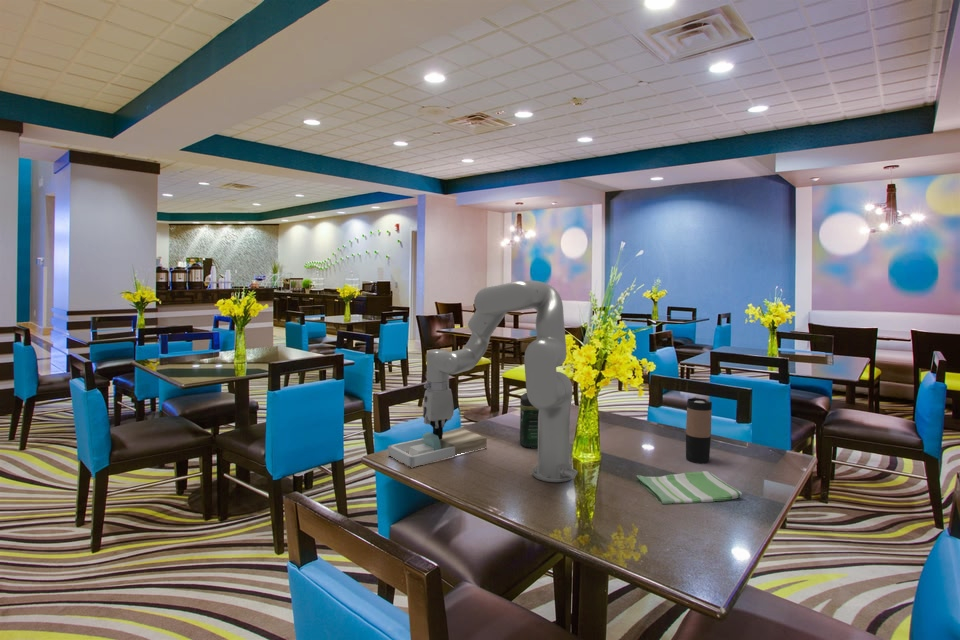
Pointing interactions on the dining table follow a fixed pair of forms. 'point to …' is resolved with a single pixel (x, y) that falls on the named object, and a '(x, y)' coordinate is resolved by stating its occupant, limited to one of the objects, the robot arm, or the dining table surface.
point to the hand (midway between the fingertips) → (437, 438)
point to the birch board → (463, 441)
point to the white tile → (420, 449)
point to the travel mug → (698, 430)
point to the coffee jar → (528, 423)
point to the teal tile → (432, 440)
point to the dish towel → (689, 488)
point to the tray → (400, 454)
